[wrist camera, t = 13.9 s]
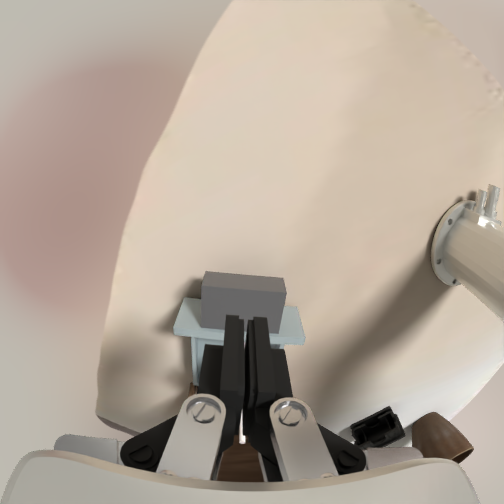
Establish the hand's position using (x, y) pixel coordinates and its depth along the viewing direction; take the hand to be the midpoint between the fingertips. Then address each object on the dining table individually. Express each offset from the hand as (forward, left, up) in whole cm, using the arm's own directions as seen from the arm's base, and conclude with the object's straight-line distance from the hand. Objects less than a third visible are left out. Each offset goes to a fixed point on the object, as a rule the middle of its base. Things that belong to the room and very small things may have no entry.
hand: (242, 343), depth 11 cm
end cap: (+39, +30, -20) cm, 54 cm away
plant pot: (+44, +48, -20) cm, 69 cm away
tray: (+14, 0, -19) cm, 24 cm away
